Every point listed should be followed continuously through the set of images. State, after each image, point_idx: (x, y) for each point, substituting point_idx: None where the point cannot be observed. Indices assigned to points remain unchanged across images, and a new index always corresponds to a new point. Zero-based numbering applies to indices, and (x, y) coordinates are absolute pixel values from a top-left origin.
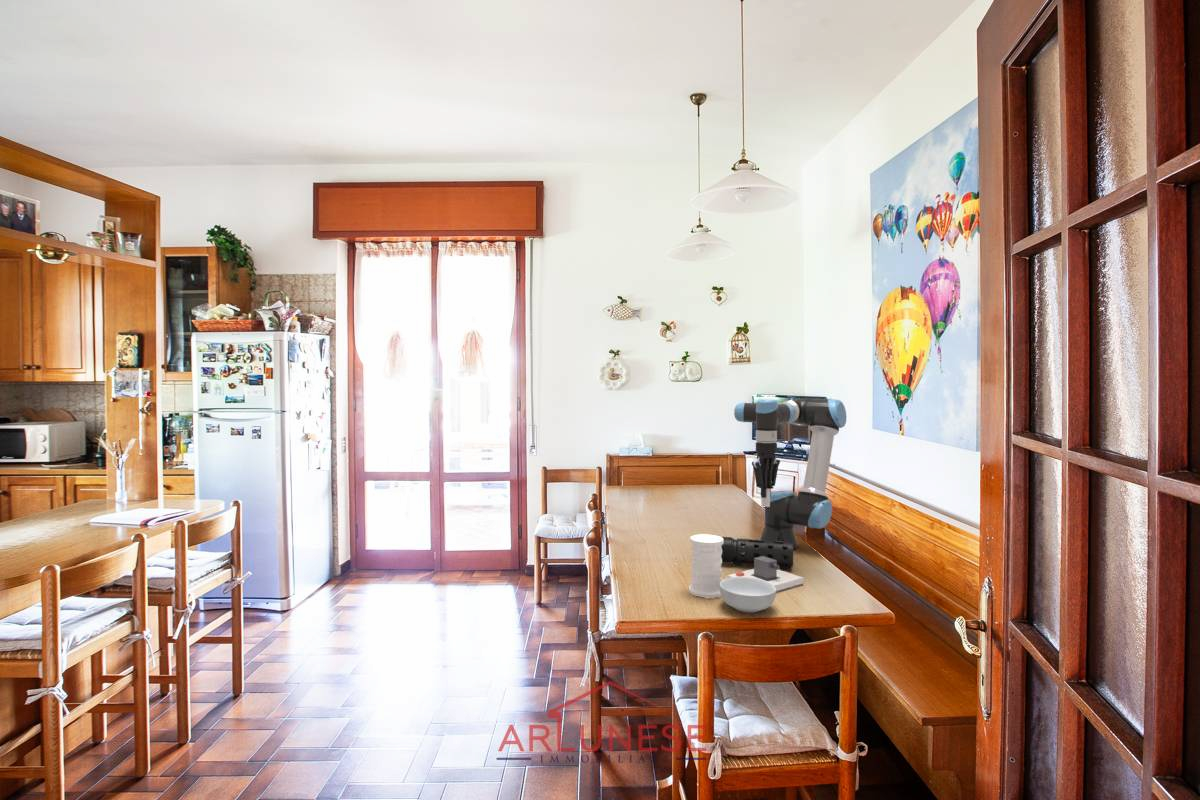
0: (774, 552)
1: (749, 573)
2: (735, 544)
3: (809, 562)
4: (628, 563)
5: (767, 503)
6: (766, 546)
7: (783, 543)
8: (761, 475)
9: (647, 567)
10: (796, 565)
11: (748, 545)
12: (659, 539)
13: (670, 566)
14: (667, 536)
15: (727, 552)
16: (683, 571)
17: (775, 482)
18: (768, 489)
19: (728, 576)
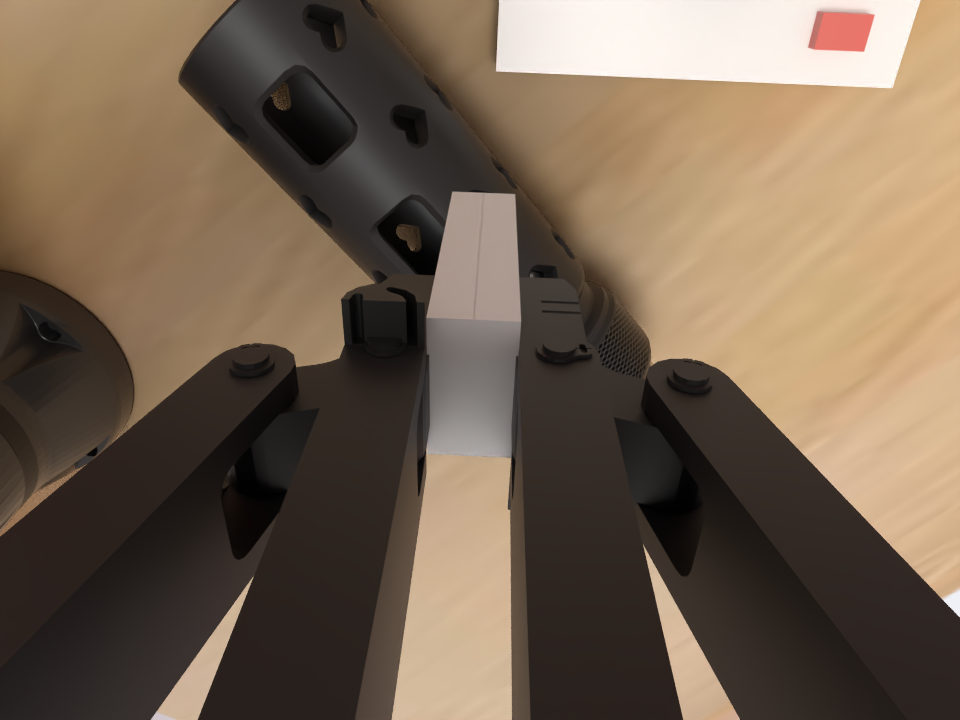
0: (411, 74)
1: (749, 19)
2: None
3: (60, 27)
4: (925, 569)
5: (509, 211)
6: (431, 148)
7: (292, 73)
8: (871, 615)
9: (922, 492)
10: (197, 38)
11: (522, 251)
12: (510, 702)
13: (828, 447)
14: (444, 711)
15: (627, 315)
16: (858, 362)
17: (177, 389)
18: (481, 316)
19: (891, 78)
